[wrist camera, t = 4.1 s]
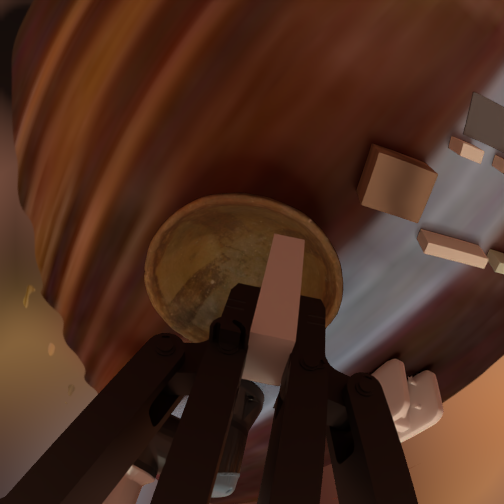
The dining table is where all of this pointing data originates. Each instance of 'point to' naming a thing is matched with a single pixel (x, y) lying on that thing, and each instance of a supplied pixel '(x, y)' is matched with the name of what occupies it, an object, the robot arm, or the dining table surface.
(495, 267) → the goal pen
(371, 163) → the block
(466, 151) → the channel
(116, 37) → the dining table surface
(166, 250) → the bowl
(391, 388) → the cable organizer
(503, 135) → the mat
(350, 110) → the dining table surface
